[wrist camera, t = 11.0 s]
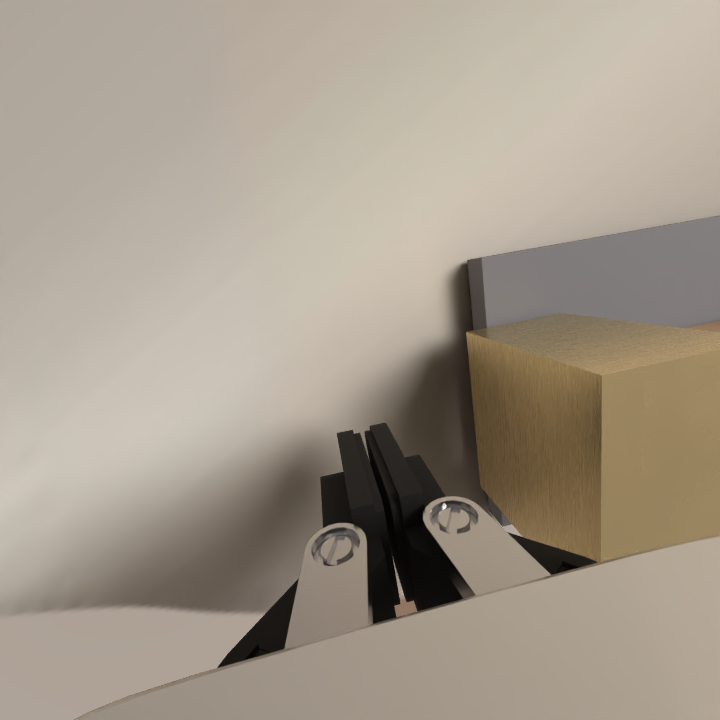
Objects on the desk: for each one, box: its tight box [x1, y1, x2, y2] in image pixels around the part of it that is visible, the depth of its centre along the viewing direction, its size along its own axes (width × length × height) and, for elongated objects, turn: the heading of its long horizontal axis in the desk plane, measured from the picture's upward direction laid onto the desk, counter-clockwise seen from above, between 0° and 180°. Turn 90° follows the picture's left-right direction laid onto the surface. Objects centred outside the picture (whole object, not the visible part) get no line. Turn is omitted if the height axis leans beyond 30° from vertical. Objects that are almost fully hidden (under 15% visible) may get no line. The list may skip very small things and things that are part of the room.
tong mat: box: [467, 216, 720, 527], centre depth 16 cm, size 22×12×1 cm, turn 100°
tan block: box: [466, 313, 720, 562], centre depth 11 cm, size 4×7×6 cm, turn 10°
